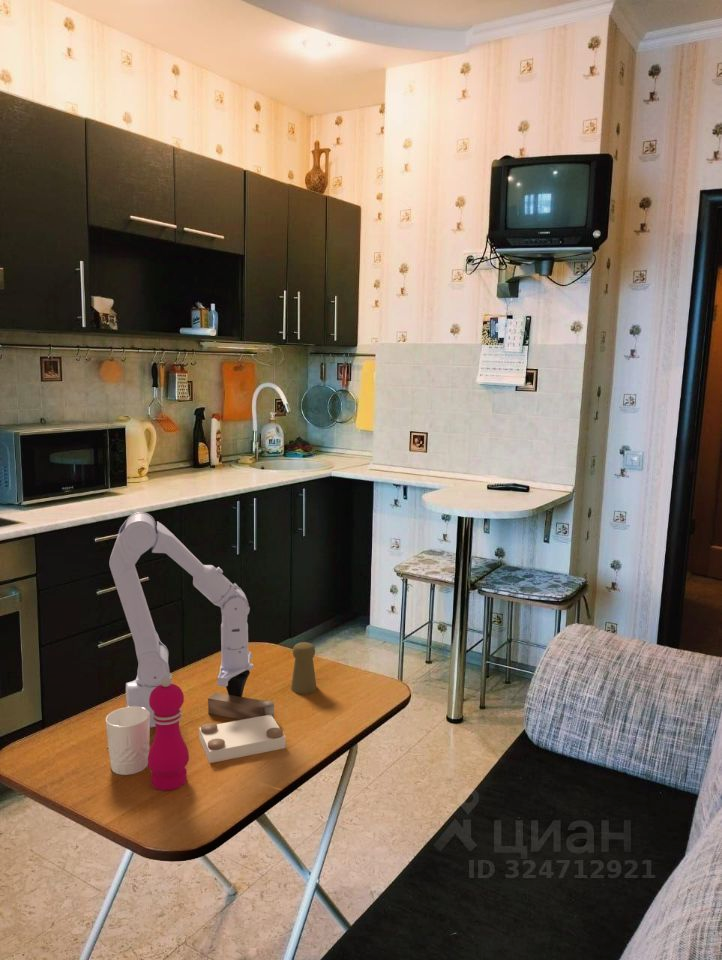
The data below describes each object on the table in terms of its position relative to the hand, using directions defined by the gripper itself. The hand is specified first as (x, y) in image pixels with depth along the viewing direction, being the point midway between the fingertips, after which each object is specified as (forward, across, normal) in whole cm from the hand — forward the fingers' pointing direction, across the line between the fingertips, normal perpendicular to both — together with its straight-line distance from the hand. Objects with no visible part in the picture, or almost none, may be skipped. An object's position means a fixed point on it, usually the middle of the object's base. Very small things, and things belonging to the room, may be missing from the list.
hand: (235, 703), depth 163 cm
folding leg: (+1, -3, -3) cm, 4 cm away
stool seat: (+1, -13, -7) cm, 15 cm away
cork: (+2, +14, -12) cm, 18 cm away
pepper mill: (+2, -29, +1) cm, 29 cm away
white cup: (+2, -26, +11) cm, 28 cm away
